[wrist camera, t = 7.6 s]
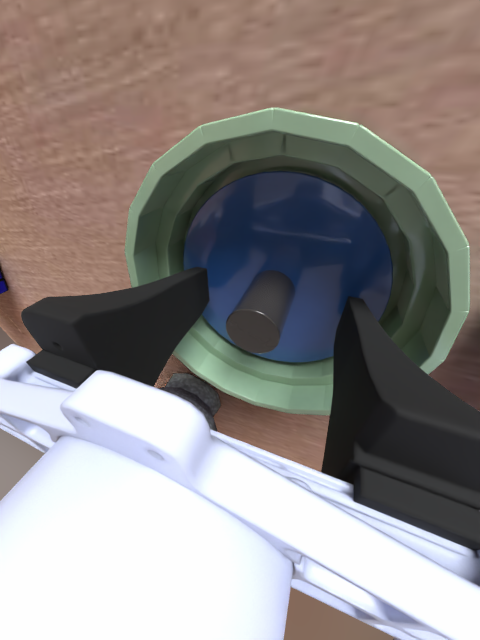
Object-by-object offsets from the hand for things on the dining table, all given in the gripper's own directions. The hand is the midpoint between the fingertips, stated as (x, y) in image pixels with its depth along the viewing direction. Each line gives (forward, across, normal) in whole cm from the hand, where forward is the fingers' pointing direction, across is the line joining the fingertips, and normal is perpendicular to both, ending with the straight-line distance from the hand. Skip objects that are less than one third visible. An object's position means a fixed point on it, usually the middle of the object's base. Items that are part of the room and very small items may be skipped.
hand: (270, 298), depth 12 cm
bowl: (+2, 0, 0) cm, 2 cm away
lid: (+1, 0, 0) cm, 1 cm away
